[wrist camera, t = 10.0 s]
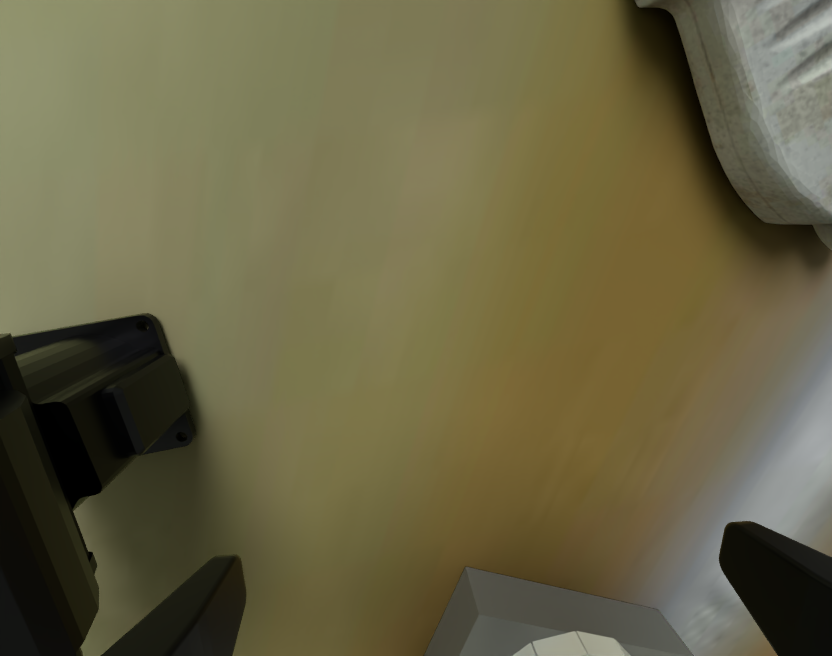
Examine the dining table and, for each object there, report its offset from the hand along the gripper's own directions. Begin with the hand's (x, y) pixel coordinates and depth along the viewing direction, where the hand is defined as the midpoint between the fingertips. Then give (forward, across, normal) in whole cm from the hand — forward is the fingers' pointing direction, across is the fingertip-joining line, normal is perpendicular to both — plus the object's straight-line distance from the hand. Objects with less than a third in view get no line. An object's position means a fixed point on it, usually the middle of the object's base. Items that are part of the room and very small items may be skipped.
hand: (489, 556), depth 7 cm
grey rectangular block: (+13, -7, +20) cm, 25 cm away
